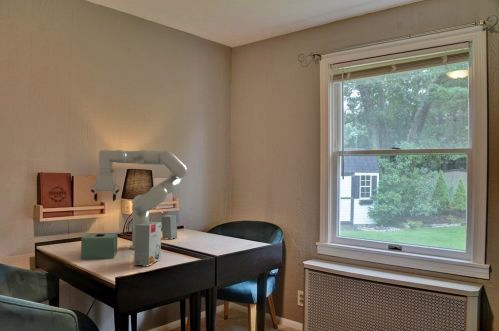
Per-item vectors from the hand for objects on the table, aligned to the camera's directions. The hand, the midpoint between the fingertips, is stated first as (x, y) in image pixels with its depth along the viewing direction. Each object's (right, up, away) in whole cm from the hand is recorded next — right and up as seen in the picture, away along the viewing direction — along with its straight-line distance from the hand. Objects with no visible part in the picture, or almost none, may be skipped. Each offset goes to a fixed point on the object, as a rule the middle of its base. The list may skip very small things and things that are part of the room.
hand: (105, 201), depth 229 cm
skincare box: (+29, -29, +41) cm, 58 cm away
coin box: (+3, -28, -15) cm, 32 cm away
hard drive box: (+32, -29, -30) cm, 53 cm away
